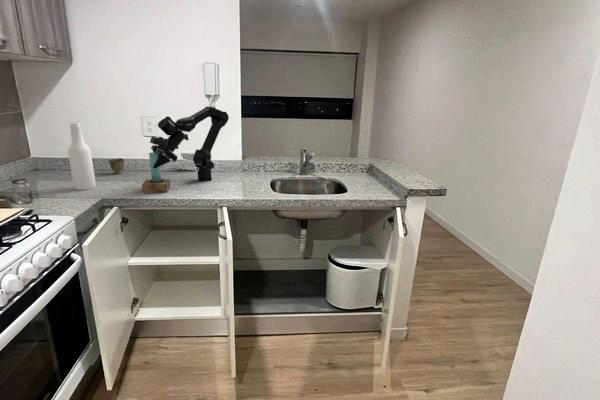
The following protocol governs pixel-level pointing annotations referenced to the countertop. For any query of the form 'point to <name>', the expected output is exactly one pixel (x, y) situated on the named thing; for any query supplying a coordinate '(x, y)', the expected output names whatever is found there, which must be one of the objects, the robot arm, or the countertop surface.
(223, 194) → the countertop surface
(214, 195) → the countertop surface
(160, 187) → the socket
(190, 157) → the small box
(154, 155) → the peg
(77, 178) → the alcohol
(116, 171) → the cup
